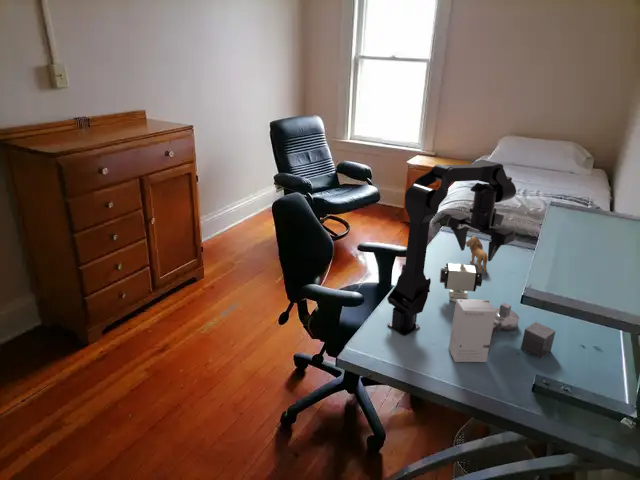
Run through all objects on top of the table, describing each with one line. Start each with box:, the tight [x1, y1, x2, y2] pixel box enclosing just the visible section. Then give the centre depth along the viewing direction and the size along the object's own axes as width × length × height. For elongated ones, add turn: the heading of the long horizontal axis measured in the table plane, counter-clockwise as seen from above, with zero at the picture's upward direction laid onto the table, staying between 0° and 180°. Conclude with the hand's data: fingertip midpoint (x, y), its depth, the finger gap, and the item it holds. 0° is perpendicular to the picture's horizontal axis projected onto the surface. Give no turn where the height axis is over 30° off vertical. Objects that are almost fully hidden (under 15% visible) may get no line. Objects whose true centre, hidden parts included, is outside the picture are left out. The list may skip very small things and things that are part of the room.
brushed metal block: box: [520, 321, 556, 360], centre depth 119 cm, size 5×5×6 cm
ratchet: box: [491, 302, 520, 338], centre depth 126 cm, size 19×8×6 cm, turn 128°
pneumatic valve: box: [439, 263, 483, 303], centre depth 140 cm, size 6×12×12 cm, turn 78°
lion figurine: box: [465, 235, 489, 276], centre depth 161 cm, size 15×5×9 cm, turn 10°
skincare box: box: [448, 298, 496, 363], centre depth 115 cm, size 8×6×15 cm
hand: (475, 255), depth 138 cm, fingers open, 9 cm apart
